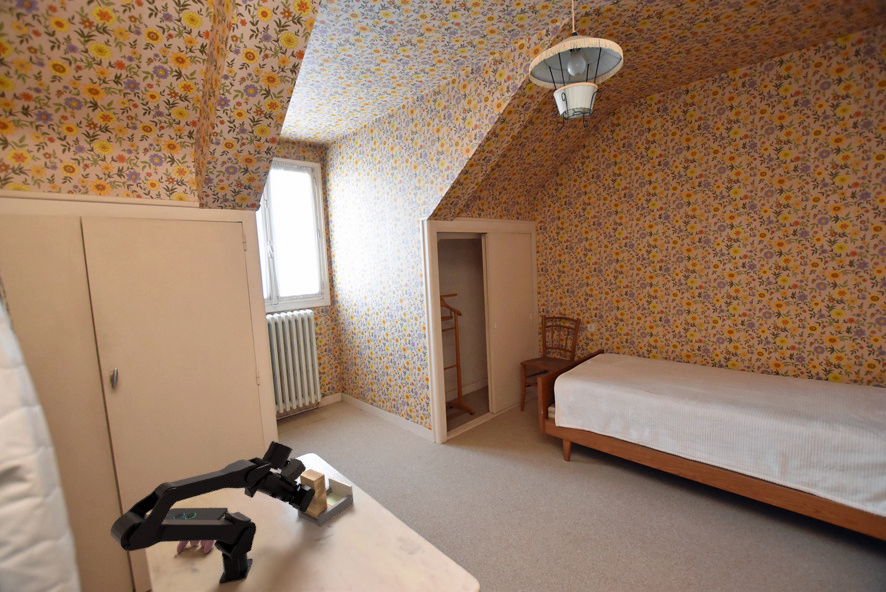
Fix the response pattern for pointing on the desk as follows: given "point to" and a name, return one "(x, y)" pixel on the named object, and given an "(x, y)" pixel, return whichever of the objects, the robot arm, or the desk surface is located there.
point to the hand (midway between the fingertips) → (307, 498)
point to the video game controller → (207, 544)
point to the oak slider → (317, 483)
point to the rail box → (332, 501)
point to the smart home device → (196, 513)
